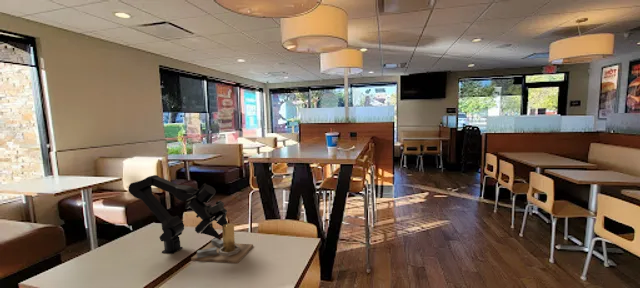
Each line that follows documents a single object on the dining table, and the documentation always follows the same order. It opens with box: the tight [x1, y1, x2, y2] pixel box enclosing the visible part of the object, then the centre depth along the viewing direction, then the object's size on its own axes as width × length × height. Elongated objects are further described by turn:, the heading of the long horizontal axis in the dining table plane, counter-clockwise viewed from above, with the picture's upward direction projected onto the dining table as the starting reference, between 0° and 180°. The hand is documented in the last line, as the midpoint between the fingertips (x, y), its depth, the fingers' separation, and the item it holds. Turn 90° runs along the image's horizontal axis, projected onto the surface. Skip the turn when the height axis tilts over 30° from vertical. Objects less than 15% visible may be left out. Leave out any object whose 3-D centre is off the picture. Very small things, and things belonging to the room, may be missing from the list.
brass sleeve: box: [221, 222, 236, 252], centre depth 128 cm, size 5×5×12 cm
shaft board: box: [190, 237, 254, 264], centre depth 128 cm, size 22×16×3 cm
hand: (224, 233), depth 128 cm, fingers open, 9 cm apart
